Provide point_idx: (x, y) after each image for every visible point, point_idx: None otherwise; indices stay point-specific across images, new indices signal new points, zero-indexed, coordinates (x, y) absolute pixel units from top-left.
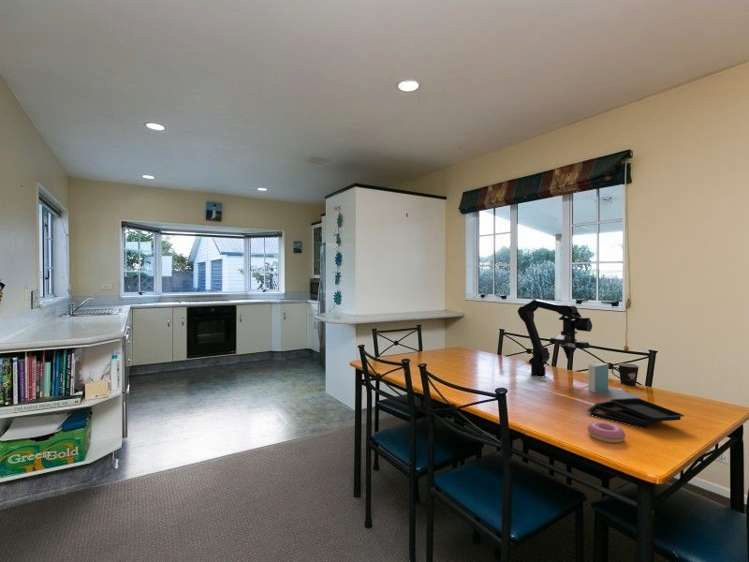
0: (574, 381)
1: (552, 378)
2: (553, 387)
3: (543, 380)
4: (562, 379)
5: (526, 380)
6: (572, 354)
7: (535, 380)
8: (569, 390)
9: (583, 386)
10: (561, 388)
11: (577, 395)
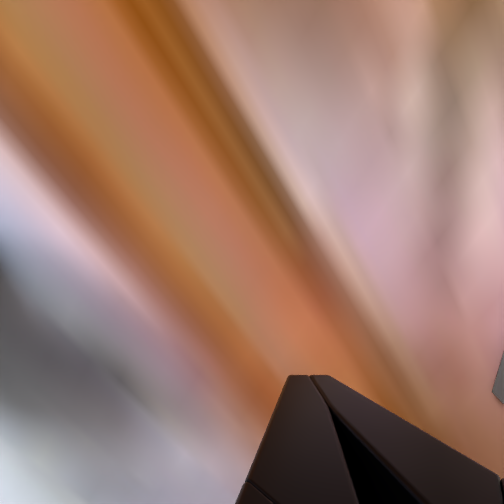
0: (268, 116)
1: (70, 224)
2: None
3: (95, 364)
4: (147, 161)
5: (38, 477)
6: (449, 449)
7: (66, 420)
8: None
9: (421, 220)
10: None
11: None
